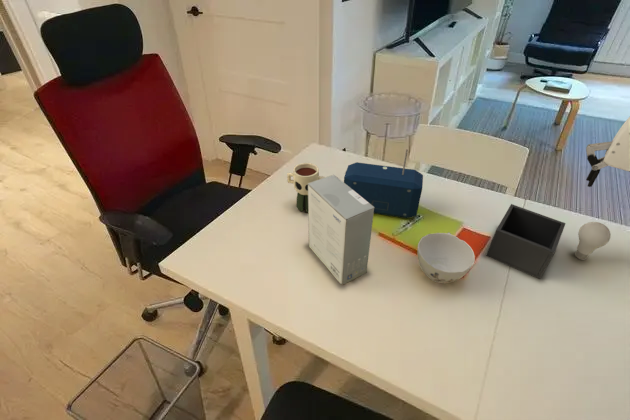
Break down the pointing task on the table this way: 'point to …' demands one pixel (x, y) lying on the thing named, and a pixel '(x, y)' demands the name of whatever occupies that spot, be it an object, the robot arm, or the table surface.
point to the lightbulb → (591, 238)
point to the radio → (387, 187)
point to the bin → (525, 240)
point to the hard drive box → (339, 227)
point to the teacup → (444, 257)
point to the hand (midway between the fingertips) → (615, 191)
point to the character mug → (303, 182)
